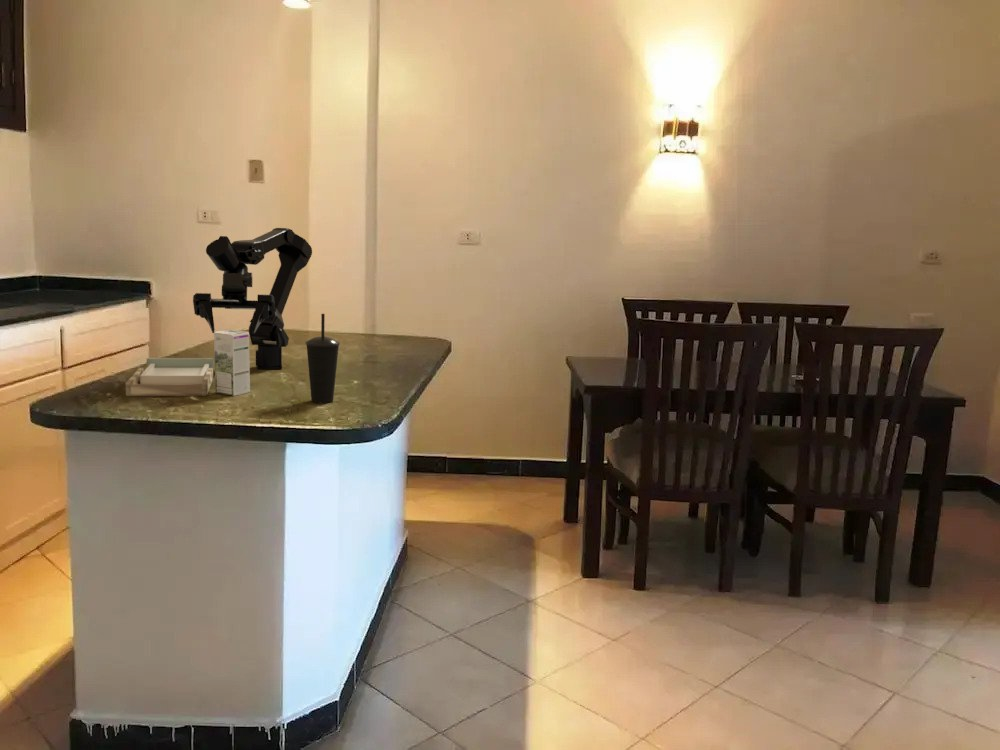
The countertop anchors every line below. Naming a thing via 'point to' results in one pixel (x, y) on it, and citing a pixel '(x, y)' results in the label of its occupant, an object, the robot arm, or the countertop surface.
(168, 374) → the tray
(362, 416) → the countertop surface
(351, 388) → the countertop surface
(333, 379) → the drinking cup
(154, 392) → the dock
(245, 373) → the syrup box
